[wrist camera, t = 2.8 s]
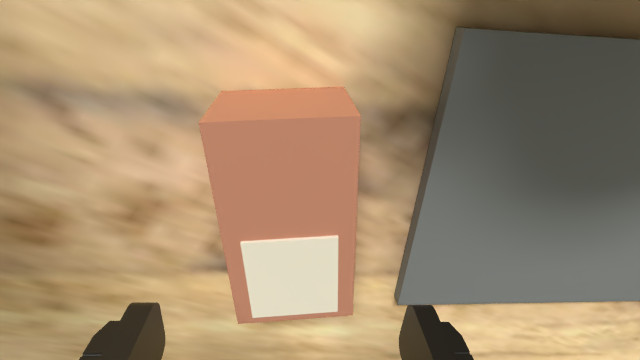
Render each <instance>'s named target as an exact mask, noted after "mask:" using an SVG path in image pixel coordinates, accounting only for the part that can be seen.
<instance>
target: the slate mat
mask: <svg viewBox="0 0 640 360" xmlns="http://www.w3.org/2000/svg"><path fill="white" fill-rule="evenodd" d="M395 298H396V301H397V304H398V305H425V304H485V303H544V302H604V301H640V39H630V38H615V37H599V36H584V35H569V34H554V33H539V32H523V31H508V30H493V29H478V28H463V27H456V31H455V35H454V39H453V44H452V48H451V52H450V57H449V61H448V65H447V70H446V74H445V78H444V83H443V87H442V91H441V96H440V100H439V104H438V109H437V113H436V117H435V122H434V126H433V130H432V135H431V139H430V143H429V148H428V152H427V156H426V161H425V165H424V169H423V173H422V178H421V182H420V186H419V191H418V195H417V199H416V204H415V208H414V212H413V217H412V221H411V225H410V230H409V234H408V238H407V243H406V247H405V251H404V256H403V260H402V264H401V269H400V273H399V277H398V282H397V286H396V290H395Z"/></svg>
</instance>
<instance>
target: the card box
mask: <svg viewBox="0 0 640 360" xmlns="http://www.w3.org/2000/svg"><path fill="white" fill-rule="evenodd" d="M360 121H361V116H360V114H359V112H358V110H357V109H356V107H355V105H354V103H353V102H352V100H351V98H350V97H349V95H348V93H347V91H346V90H345V88H344V87H324V88H296V89H269V90H241V91H221V93H220V94H219V95H218V97H217V98H216V99H215V101H214V102H213V104H212V105H211V106H210V108H209V109H208V111H207V112H206V113H205V115H204V116H203V117H202V119H201V120H200V122H199V126H200V131H201V136H202V141H203V147H204V152H205V157H206V162H207V167H208V172H209V177H210V182H211V187H212V193H213V198H214V203H215V208H216V213H217V218H218V223H219V228H220V233H221V238H222V244H223V249H224V254H225V259H226V264H227V269H228V274H229V279H230V284H231V290H232V295H233V300H234V305H235V310H236V315H237V320H238V324H242V323H255V322H268V321H282V320H295V319H308V318H321V317H335V316H348V315H353V293H354V269H355V244H356V220H357V195H358V170H359V146H360Z"/></svg>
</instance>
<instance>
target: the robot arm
mask: <svg viewBox="0 0 640 360" xmlns="http://www.w3.org/2000/svg"><path fill="white" fill-rule="evenodd" d="M164 347H165V331H164V326H163V321H162V315H161V310H160V305H159V304H158V303H131V304H130V305H129V306H128V308H127V309H126V311H125V313H124V315H123V317H122V318H121V320H120V321H109V322H108V323H107V324H106V325H105V326H104V327H103V328H102V329H101V330H99V331H98V332H97V333H96V334H95V335H94V336H93V338H92V339H91V341H90V343H89V344H88V346H87V348H86V349H85V351H84V352H83V356H82V357H80V359H79V360H161V358H162V355H163V352H164ZM399 349H400V355H401V358H402V360H474V359H473V357H472V355H470V353H469V352H470V351H469V349H468V347H467V345H466V343H465V341H464V339H463V337H462V336H461V334H460V333H459V332H458V331H457V330H456V329H455V328H454V327H453V326H452V325H451V324H450V323H449V322H440V320H439V317H438V315H437V313H436V311H435V309H434V307H433V306H432V305H408V307H407V309H406V313H405V316H404V320H403V324H402V327H401V331H400V335H399Z"/></svg>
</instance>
